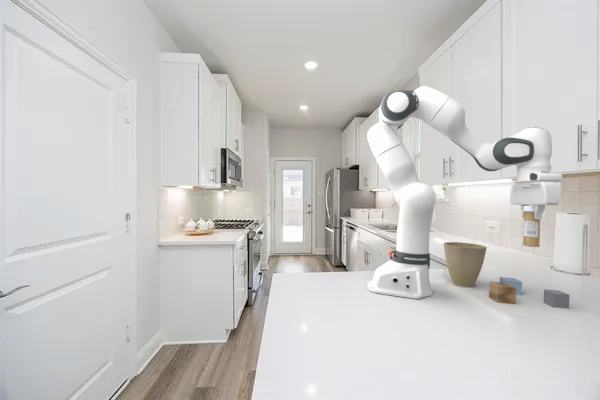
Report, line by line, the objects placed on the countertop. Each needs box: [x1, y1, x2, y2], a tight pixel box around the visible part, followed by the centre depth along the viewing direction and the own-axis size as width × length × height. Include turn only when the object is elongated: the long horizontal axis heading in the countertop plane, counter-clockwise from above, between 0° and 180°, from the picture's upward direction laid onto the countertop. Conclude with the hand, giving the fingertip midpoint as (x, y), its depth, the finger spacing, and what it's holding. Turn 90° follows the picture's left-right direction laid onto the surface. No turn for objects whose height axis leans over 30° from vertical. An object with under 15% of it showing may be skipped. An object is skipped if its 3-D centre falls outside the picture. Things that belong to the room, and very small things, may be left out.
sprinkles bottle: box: [522, 205, 541, 248], centre depth 94 cm, size 5×5×13 cm
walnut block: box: [488, 281, 517, 305], centre depth 96 cm, size 6×6×6 cm
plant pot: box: [443, 241, 487, 288], centre depth 113 cm, size 15×15×16 cm
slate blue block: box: [498, 276, 523, 296], centre depth 105 cm, size 5×5×5 cm
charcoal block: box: [543, 288, 571, 310], centre depth 93 cm, size 4×4×4 cm
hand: (531, 218), depth 94 cm, fingers closed on sprinkles bottle, 4 cm apart
